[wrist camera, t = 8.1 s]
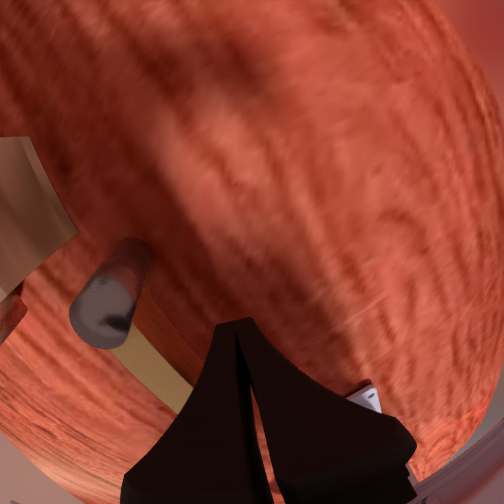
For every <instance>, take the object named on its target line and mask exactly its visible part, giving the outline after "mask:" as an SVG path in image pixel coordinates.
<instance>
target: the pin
mask: <svg viewBox="0 0 504 504" xmlns="http://www.w3.org/2000/svg"><path fill="white" fill-rule="evenodd" d="M27 310H28V308H27V307H26V305H25V304H24V303H23V301H22V300H21V298H20V297H19V296H18V294H17V293H16V291H15V290H14V289H13V290H12V291H11V292H10V293H9V294H8V295H7V296H6V297H5V298H4V299H3V300H2V301H1V302H0V345H1V344H2V343H3V342H4V341H5V340H6V338H7V337H8V336H9V335H10V334H11V332H12V331H13V330H14V329H15V327H16V326H17V325H18V324H19V322H20V321H21V320H22V318H23V317H24V315H25V314H26V312H27Z"/></svg>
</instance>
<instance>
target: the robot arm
mask: <svg viewBox="0 0 504 504" xmlns="http://www.w3.org/2000/svg"><path fill="white" fill-rule="evenodd" d="M250 385H251V387H252V390H253V393H254V396H255V399H256V401H257V404H258V407H259V411H260V415H261V420H262V424H263V428H264V433H265V437H266V441H267V446H268V450H269V454H270V459H271V463H272V467H273V471H274V476H275V479H276V482H277V484H278V487H279V489H280V491H281V494H282V496H283V499H284V501H285V504H504V418H503V419H502V420H500V422H498V423H497V425H495V426H494V427H493V428H492V429H491V430H490V431H489V432H488V433H486V434H485V435H484V436H483V437H482V438H481V439H480V440H478V441H477V442H476V443H475V444H474V445H473V446H471V447H470V448H469V449H467V450H466V451H465V452H464V453H462V454H461V455H459V456H458V457H457V458H455V459H454V460H453V461H451V462H450V463H449V464H447V465H446V466H444V467H443V468H441V469H440V470H438V471H437V472H435V473H434V474H432V475H431V476H429V477H427V478H426V479H424V480H422V481H421V482H418V480H417V478H416V477H415V475H414V473H413V471H412V470H411V468H410V466H409V465H408V463H407V462H408V461H409V460H410V458H411V457H412V455H413V454H414V452H415V450H416V448H417V444H416V441H415V440H414V438H413V437H412V435H411V434H410V432H409V431H408V430H407V429H406V428H405V427H404V426H403V425H402V424H401V422H400V421H399V420H398V419H397V418H396V417H392V416H389V415H386V414H383V413H382V411H381V407H380V402H379V398H378V394H377V389H376V387H375V386H374V385H368V386H366V387H365V388H363V389H361V390H359V391H358V392H356V393H354V394H352V395H350V396H349V397H347V398H344V397H342V396H340V395H338V394H336V393H335V392H333V391H331V390H329V389H327V388H325V387H324V386H322V385H321V384H319V383H318V382H316V381H315V380H313V379H312V378H310V377H309V376H307V375H306V374H305V373H303V372H302V371H301V370H299V369H298V368H297V367H296V366H295V365H293V364H292V363H291V362H290V361H289V360H288V359H287V358H285V357H284V356H283V355H282V354H281V353H280V352H279V351H278V350H277V349H276V348H275V347H274V346H273V344H272V343H271V342H270V341H269V340H268V339H267V338H266V337H265V335H264V334H263V333H262V331H261V330H260V329H259V327H258V326H257V324H256V323H255V321H254V319H253V318H251V317H248V318H243V319H239V320H235V321H230V322H226V323H221V324H217V326H216V327H215V331H214V335H213V339H212V343H211V346H210V349H209V352H208V355H207V358H206V360H205V363H204V366H203V368H202V371H201V373H200V375H199V377H198V379H197V382H196V384H195V386H194V388H193V390H192V392H191V394H190V396H189V397H188V399H187V401H186V403H185V404H184V406H183V408H182V409H181V411H180V412H179V414H178V415H177V417H176V418H175V420H174V421H173V423H172V424H171V425H170V427H169V428H168V429H167V431H166V432H165V433H164V434H163V436H162V437H161V438H160V439H159V440H158V442H157V443H156V444H155V445H154V446H153V447H152V449H151V450H150V451H149V452H148V453H147V454H146V455H145V456H144V457H143V458H142V459H141V460H140V461H139V462H138V463H137V464H136V465H134V466H133V467H132V468H131V469H130V470H129V471H128V472H127V473H126V474H124V478H123V482H122V486H121V494H120V504H274V501H273V497H272V494H271V490H270V487H269V483H268V479H267V476H266V472H265V468H264V464H263V461H262V457H261V453H260V449H259V445H258V441H257V435H256V429H255V421H254V413H253V405H252V397H251V389H250ZM10 504H19V503H17V502H14V501H10Z"/></svg>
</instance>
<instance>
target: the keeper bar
mask: <svg viewBox="0 0 504 504" xmlns="http://www.w3.org/2000/svg"><path fill="white" fill-rule="evenodd" d="M152 267H153V254H152V251H151V250H150V248H149V247H148V245H147V244H146V243H144V242H143V241H141V240H139V239H136V238H126V239H123V240H121V241H120V242H119V243H118V244H117V245H116V246H115V247H114V248H113V250H112V251H111V252H110V253H109V255H108V256H107V257H106V258H105V260H104V261H103V262H102V263H101V265H100V266H99V267H98V269H97V270H96V271H95V273H94V274H93V275H92V277H91V278H90V279H89V281H88V282H87V283H86V285H85V286H84V287H83V289H82V290H81V292H80V293H79V294H78V296H77V297H76V299H75V300H74V301H73V303H72V305H71V307H70V311H69V317H70V322H71V325H72V327H73V329H74V330H75V332H76V333H77V334H78V336H79V337H80V338H81V339H83V340H84V341H85V342H87V343H88V344H90V345H92V346H94V347H97V348H100V349H108V350H109V351H110V352H111V353H112V354H113V355H114V356H115V357H116V358H117V359H118V360H119V361H120V362H121V363H122V364H123V365H124V366H125V367H126V368H127V369H128V370H129V371H130V372H131V373H132V374H133V375H134V376H135V377H136V378H137V379H138V380H139V381H140V382H141V383H142V384H143V385H144V386H145V387H147V388H148V389H149V390H150V391H151V392H152V393H153V394H154V395H156V396H157V397H158V398H159V399H160V400H161V401H162V402H164V403H165V404H166V405H167V406H168V407H170V408H171V409H172V410H173V411H174V412H176V413H177V414H179V412H180V411H181V409H182V408H183V406H184V404H185V403H186V401H187V399H188V397H189V396H190V394H191V392H192V390H193V388H194V386H195V384H196V382H197V379H198V377H199V375H200V373H201V371H202V368H203V366H204V362H203V361H202V360H201V359H200V358H199V356H198V355H197V354H196V353H195V352H194V351H193V350H192V348H191V347H190V346H189V345H188V344H187V342H186V341H185V340H184V339H183V338H182V337H181V335H180V334H179V333H178V332H177V330H176V329H175V328H174V327H173V325H172V324H171V323H170V322H169V320H168V319H167V318H166V317H165V315H164V314H163V313H162V312H161V310H160V309H159V308H158V306H157V305H156V304H155V302H154V301H153V300H152V298H151V297H150V296H149V294H148V293H147V292H146V290H145V289H144V288H145V285H146V282H147V280H148V277H149V274H150V272H151V269H152ZM255 429H256V426H255ZM256 435H257V431H256ZM257 441H258V445H260V444H259V439H258V435H257Z"/></svg>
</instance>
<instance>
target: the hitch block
mask: <svg viewBox="0 0 504 504" xmlns="http://www.w3.org/2000/svg"><path fill="white" fill-rule="evenodd" d="M77 233H79V232H78V231H77V229H76V227H75V226H74V224H73V222H72V221H71V219H70V217H69V216H68V214H67V212H66V210H65V209H64V207H63V205H62V203H61V201H60V200H59V198H58V196H57V194H56V192H55V190H54V188H53V186H52V184H51V183H50V181H49V179H48V177H47V175H46V173H45V170H44V168H43V166H42V164H41V162H40V160H39V158H38V156H37V153H36V151H35V149H34V147H33V144H32V142H31V140H30V137H29V136H18V137H0V302H1V301H2V300H3V299H4V298H5V297H6V296H7V295H8V294H9V293H10V292H11V291H12V290H13V289H14V288H15V287H17V286H18V285H19V284H20V283H21V282H22V281H23V280H24V279H25V278H26V277H27V276H28V275H29V274H30V273H31V272H32V271H34V270H35V269H36V268H37V267H38V266H39V265H40V264H41V263H42V262H44V261H45V260H46V259H47V258H48V257H49V256H51V255H52V254H53V253H54V252H55V251H56V250H58V249H59V248H60V247H61V246H62V245H64V244H65V243H66V242H67V241H69V240H70V239H71V238H72V237H74V236H75V235H76V234H77Z"/></svg>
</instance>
